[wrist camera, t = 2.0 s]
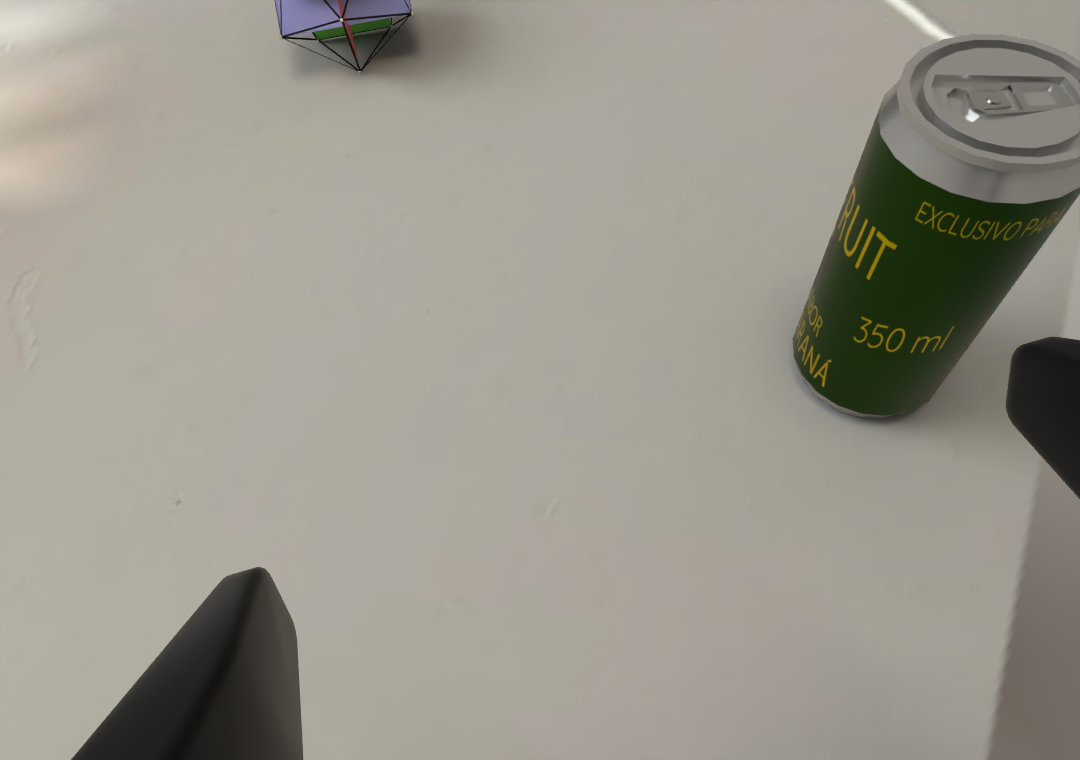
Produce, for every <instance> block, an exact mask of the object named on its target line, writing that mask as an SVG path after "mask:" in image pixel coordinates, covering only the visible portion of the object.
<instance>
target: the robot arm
mask: <svg viewBox="0 0 1080 760" xmlns="http://www.w3.org/2000/svg"><path fill="white" fill-rule="evenodd" d="M1006 410H1007V414H1008V416H1009V419H1010V420H1011V422H1012V424H1013V425H1014V426H1015V427H1016V428H1017V430H1018V431H1019V432H1020V433H1021V434H1022V435H1023V436H1024V437H1025V439H1026V440H1027V441H1028V442H1029V443H1030V444H1031V445H1032V446H1033V447H1034V449H1035V450H1036V451H1037V452H1038V453H1039V454H1040V455H1041V456H1042V458H1043V459H1044V460H1045V461H1046V462H1047V463H1048V464H1049V465H1050V466H1051V467H1052V469H1053V470H1054V471H1055V472H1056V473H1057V474H1058V475H1059V476H1060V478H1061V479H1062V480H1063V481H1064V482H1065V483H1066V484H1067V485H1068V487H1070V488H1071V490H1072V491H1073V492H1074V493H1075V494H1076V495H1077V497H1078V498H1079V499H1080V340H1074V339H1067V338H1060V337H1048V338H1044V339H1040V340H1037V341H1034V342H1030V343H1027V344H1023V345H1021V346H1020V347H1018V348H1017V349H1016V350H1015V352H1014V354H1013V355H1012V359H1011V367H1010V375H1009V383H1008V390H1007V398H1006ZM71 760H303V743H302V725H301V706H300V687H299V668H298V650H297V636H296V631H295V627H294V623H293V620H292V618H291V616H290V614H289V612H288V610H287V608H286V606H285V604H284V602H283V600H282V597H281V595H280V593H279V591H278V589H277V587H276V585H275V583H274V581H273V579H272V577H271V576H270V574H269V573H268V572H267V570H266V569H264V568H261V567H256V568H253V569H249V570H246V571H242V572H239V573H235V574H232V575H229V576H227V577H225V578H224V579H223V580H222V581H221V582H220V583H219V584H218V585H217V586H216V588H215V589H214V590H213V591H212V592H211V593H210V595H209V596H208V597H207V598H206V599H205V601H204V602H203V603H202V604H201V605H200V607H199V608H198V609H197V610H196V611H195V613H194V614H193V615H192V616H191V617H190V619H189V620H188V621H187V622H186V623H185V624H184V626H183V627H182V628H181V629H180V630H179V632H178V633H177V634H176V635H175V636H174V638H173V639H172V640H171V641H170V642H169V644H168V645H167V646H166V647H165V648H164V650H163V651H162V652H161V653H160V654H159V655H158V657H157V658H156V659H155V660H154V661H153V663H152V664H151V665H150V666H149V667H148V669H147V670H146V671H145V672H144V673H143V675H142V676H141V677H140V678H139V679H138V681H137V682H136V683H135V684H134V685H133V686H132V688H131V689H130V690H129V691H128V692H127V694H126V695H125V696H124V697H123V698H122V700H121V701H120V702H119V703H118V704H117V706H116V707H115V708H114V709H113V710H112V712H111V713H110V714H109V715H108V716H107V717H106V719H105V720H104V721H103V722H102V723H101V725H100V726H99V727H98V728H97V729H96V731H95V732H94V733H93V734H92V735H91V737H90V738H89V739H88V740H87V741H86V743H85V744H84V745H83V746H82V747H81V748H80V750H79V751H78V752H77V753H76V754H75V756H74V757H73V758H72V759H71Z"/></svg>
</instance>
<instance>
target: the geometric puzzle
mask: <svg viewBox="0 0 1080 760" xmlns="http://www.w3.org/2000/svg"><path fill="white" fill-rule="evenodd" d="M275 6H276V11H277V17H278V22H279V28H280V34H281V36H280V39H284V38H285V40H287V39H302V40H316V41H319V42H320V43H322V44H323V45H324V46H326V47H327V48H328V49H330V50H331V51H332V52H334V53H335V54H336V55H338V56H339V57H340V58H342V57H341V56H340V55H339V54H337V53H336V52H335V51H333V50H332V49H331V48H329V47H328V46H327V45H325V44H324V43H323V42H321V41H320V40H323V39H328V38H334V37H339V36H344V35H346V36H347V39H348V41H349V44H350V47H351V50H352V53H353V55H354V58H355V61H356V64H357V67H358V69H359V70H358V69H357V68H356V67H354V66H353V65H352V64H350V63H349V62H348V61H346V60H345V59H344V58H342V59H343V60H344V61H346V62H347V63H348V64H349V65H351V66H352V67H353V68H355V69H356V71H358V72H359V73H361V71H362V70H363V69H364V67H365V66H366V65H367V64H368V63H369V62H370V61H371V60H372V58H373V57H374V56H375V55H376V54H377V53H378V52H379V50H380V49H381V48H382V47H383V46H384V45H385V44H386V43H387V41H388V40H389V39H390V38H391V37H392V36H393V35H394V34H395V32H396V31H397V30H398V29H399V28H400V27H401V26H402V25H403V23H404V22H405V21H406V20H407V19H408V18H409V17H410V16H411V15H413V14H414V12H413V11H412V10H411V5H410V1H409V0H275ZM402 15H408V16H409V17H408V16H406V17H408V18H407V19H406V20H405V21H404V22H403V23H402V25H401V26H400V27H399V28H398V29H397V30H396V31H395V32H394V34H393V35H392V36H391V37H390V38H389V39H388V40H387V41H386V43H385V44H384V45H383V46H382V47H381V48H380V49H379V50H378V52H377V53H376V54H375V55H374V56H373V57H372V58H371V59H370V57H371V56H372V54H373V53H374V51H375V50H376V48H377V47H378V45H379V44H380V43H381V41H382V40H383V38H384V37H385V35H386V34H387V32H388V31H389V29H390V28H392V27H393V25H395V24H397V23H398V22H400V21H402V20H403V19H405V18H406V17H404V18H403V19H401V20H399V21H398V22H396V23H395V24H393V25H392V17H396V16H402ZM389 18H391V23H390V19H389ZM388 27H389V29H388V30H387V32H386V33H385V35H384V36H383V38H382V39H381V41H380V42H379V44H378V45H377V46H376V48H375V49H374V51H373V52H372V54H371V55H370V57H369V58H368V60H369V59H370V61H369V62H368V60H367V61H366V63H367V62H368V63H367V64H366V63H365V64H364V66H363V67H362V69H360V67H359V63H358V58H357V53H356V48H355V43H354V38H353V34H355V33H361V32H366V31H372V30H377V29H382V28H388ZM309 32H312V33H313V35H314V36H315V38H316V39H312V38H296V37H288V36H293V35H298V34H304V33H309ZM314 33H315V34H314ZM288 41H289V40H288ZM290 42H291V41H290ZM292 43H293V42H292ZM295 44H296V43H295ZM297 45H298V44H297ZM299 46H300V45H299ZM301 47H303V46H301ZM304 48H305V47H304ZM306 49H307V48H306ZM308 50H309V49H308ZM311 51H312V50H311ZM313 52H314V51H313ZM315 53H316V52H315ZM317 54H319V53H317ZM320 55H321V54H320ZM322 56H323V55H322ZM324 57H325V56H324ZM327 58H328V57H327ZM329 59H330V58H329ZM331 60H332V59H331ZM334 61H335V60H334ZM336 62H337V61H336ZM338 63H339V62H338ZM340 64H341V63H340ZM343 65H344V64H343ZM345 66H346V65H345ZM347 67H348V66H347ZM350 68H351V67H350ZM353 68H352V69H353ZM355 69H354V70H355Z"/></svg>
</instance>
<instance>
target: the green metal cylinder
mask: <svg viewBox="0 0 1080 760" xmlns="http://www.w3.org/2000/svg"><path fill="white" fill-rule="evenodd" d="M1079 194H1080V61H1078V60H1077V59H1075V58H1073V57H1072V56H1070V55H1069V54H1067V53H1065V52H1063V51H1060V50H1058V49H1055V48H1052V47H1050V46H1047V45H1044V44H1042V43H1039V42H1036V41H1032V40H1027V39H1022V38H1017V37H1012V36H1006V35H980V34H971V35H966V36H960V37H954V38H949V39H944V40H941V41H939V42H937V43H935V44H932V45H930V46H928V47H926V48H923V49H921V50H920V51H919V52H918V53H917V54H916V55H915V56H914V57H913V58H912V59H911V60H910V61H909V62H908V63H907V64H906V65H905V68H904V71H903V73H902V76H901V79H900V80H899V81H898V82H897V83H896V84H895V85H894V86H893V87H892V88H891V89H890V90H889V91H888V92H887V93H886V94H885V95H884V98H883V100H882V103H881V106H880V108H879V111H878V114H877V116H876V119H875V121H874V124H873V127H872V129H871V132H870V135H869V137H868V140H867V143H866V145H865V148H864V151H863V153H862V156H861V159H860V161H859V164H858V167H857V169H856V172H855V175H854V177H853V180H852V183H851V185H850V188H849V191H848V193H847V196H846V199H845V201H844V204H843V206H842V209H841V212H840V214H839V217H838V220H837V222H836V225H835V228H834V230H833V233H832V236H831V238H830V241H829V244H828V246H827V249H826V252H825V254H824V257H823V260H822V262H821V265H820V268H819V270H818V273H817V276H816V278H815V281H814V284H813V286H812V289H811V291H810V294H809V297H808V299H807V302H806V305H805V307H804V310H803V313H802V315H801V318H800V321H799V323H798V326H797V329H796V332H795V334H794V337H793V348H794V358H795V361H796V363H797V366H798V368H799V371H800V373H801V375H802V377H803V380H804V382H805V384H806V385H807V386H808V387H809V388H810V389H811V391H812V392H813V393H814V394H815V395H816V396H817V397H818V398H819V399H820V400H822V401H823V402H825V403H826V404H828V405H830V406H831V407H833V408H834V409H836V410H838V411H841V412H844V413H847V414H850V415H853V416H856V417H866V418H883V417H888V416H893V415H898V414H902V413H905V412H909V411H911V410H913V409H915V408H917V407H918V406H920V405H922V404H924V403H925V402H927V401H929V399H930V398H931V397H932V396H933V394H934V393H935V392H936V391H937V389H938V388H939V387H940V385H941V384H942V383H943V381H944V380H945V379H946V377H947V376H948V374H949V373H950V372H951V370H952V369H953V368H954V366H955V365H956V363H957V362H958V361H959V359H960V358H961V357H962V355H963V354H964V352H965V351H966V350H967V348H968V347H969V346H970V344H971V343H972V341H973V340H974V339H975V337H976V336H977V335H978V333H979V332H980V330H981V329H982V328H983V326H984V325H985V324H986V322H987V321H988V319H989V318H990V317H991V315H992V314H993V313H994V311H995V310H996V308H997V307H998V306H999V304H1000V303H1001V302H1002V300H1003V299H1004V297H1005V296H1006V295H1007V293H1008V292H1009V291H1010V289H1011V288H1012V286H1013V285H1014V284H1015V282H1016V281H1017V280H1018V278H1019V277H1020V275H1021V274H1022V273H1023V271H1024V270H1025V269H1026V267H1027V266H1028V264H1029V263H1030V262H1031V260H1032V259H1033V258H1034V256H1035V255H1036V254H1037V252H1038V251H1039V249H1040V248H1041V247H1042V245H1043V244H1044V243H1045V241H1046V240H1047V238H1048V237H1049V236H1050V234H1051V233H1052V232H1053V230H1054V229H1055V227H1056V226H1057V225H1058V223H1059V222H1060V221H1061V219H1062V218H1063V216H1064V215H1065V214H1066V212H1067V211H1068V210H1069V208H1070V207H1071V205H1072V204H1073V203H1074V201H1075V200H1076V199H1077V197H1078V196H1079Z"/></svg>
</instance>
